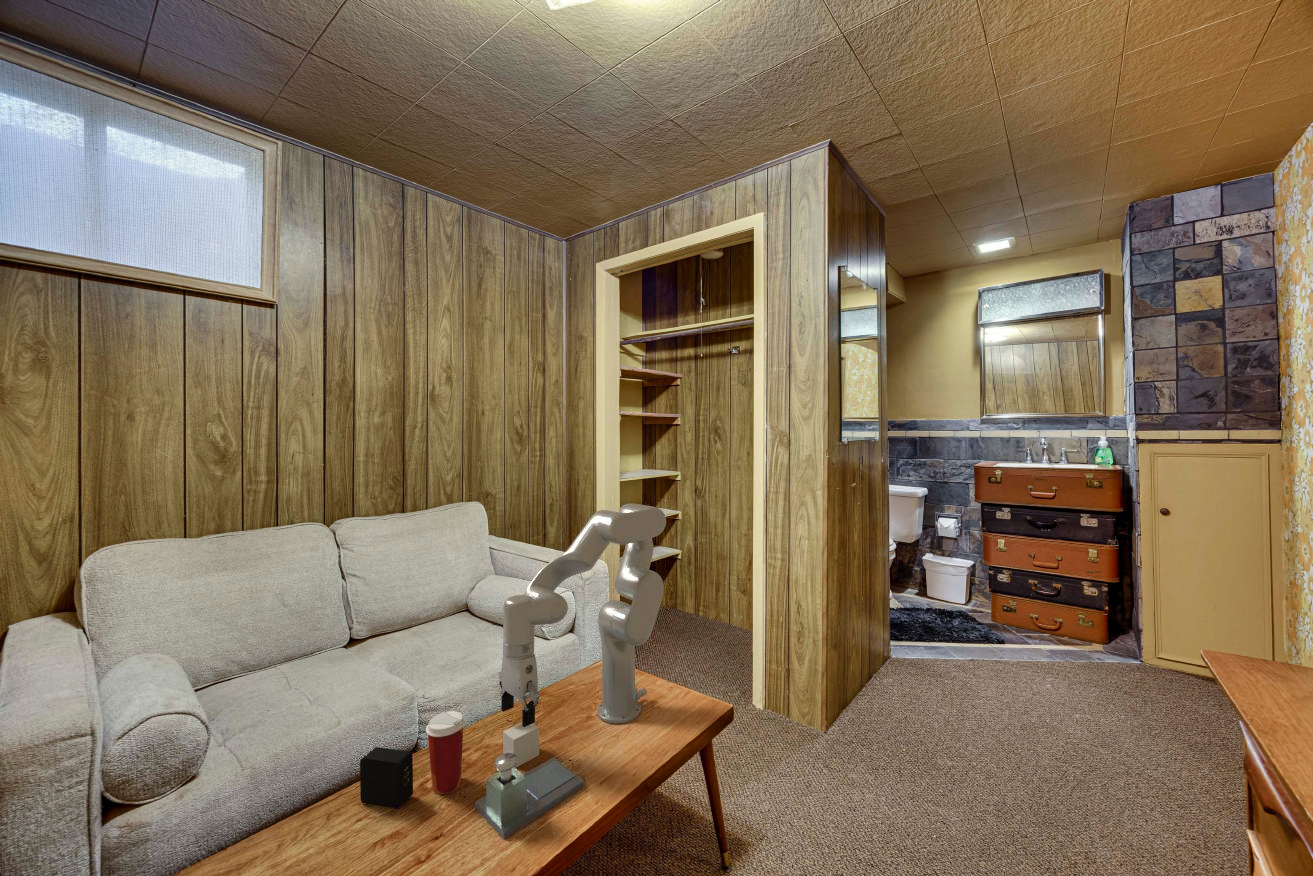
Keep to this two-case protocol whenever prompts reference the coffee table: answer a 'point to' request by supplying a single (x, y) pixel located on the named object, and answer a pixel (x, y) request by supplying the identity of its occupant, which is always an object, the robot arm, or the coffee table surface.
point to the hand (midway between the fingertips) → (517, 716)
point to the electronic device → (386, 777)
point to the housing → (521, 742)
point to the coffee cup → (445, 750)
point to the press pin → (506, 766)
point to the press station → (526, 795)
